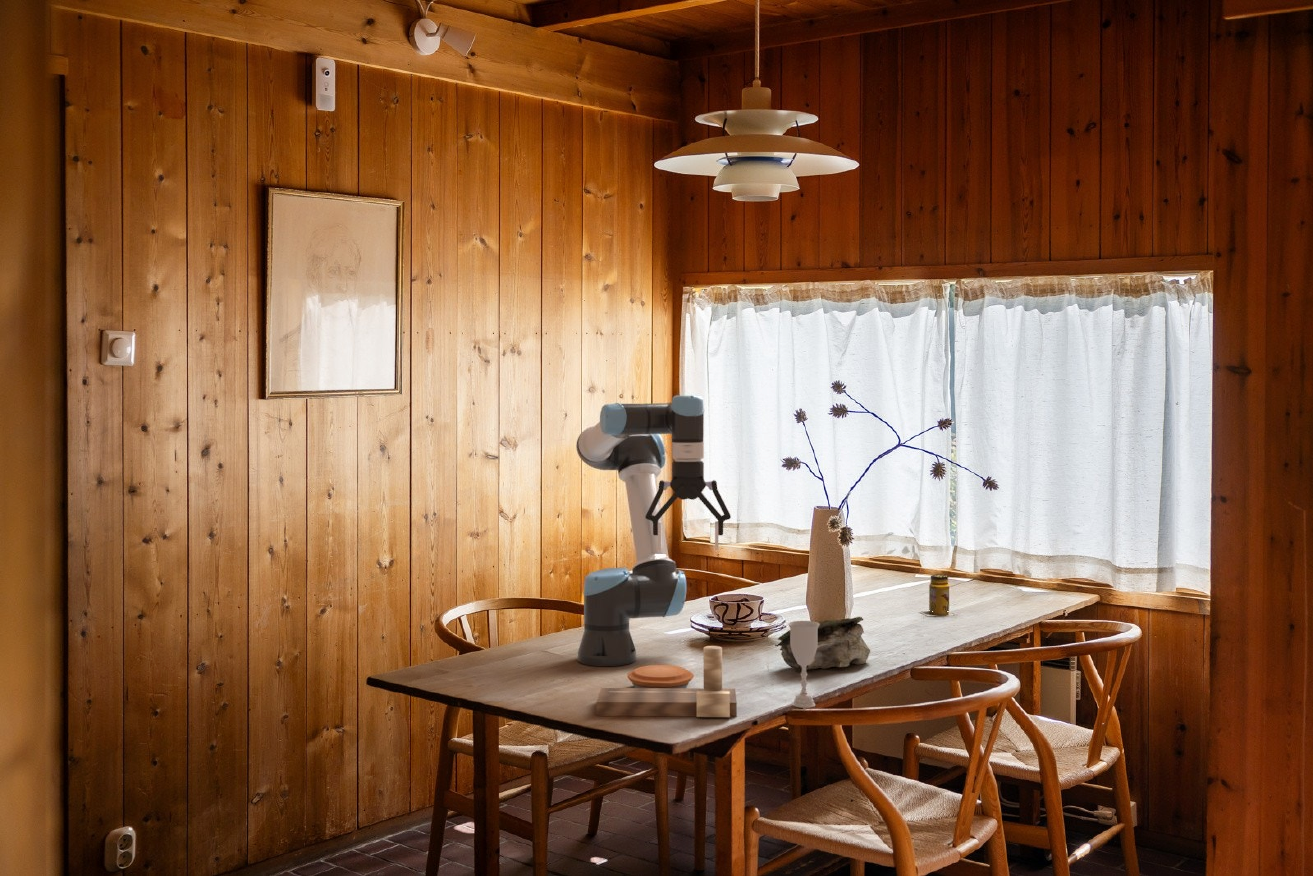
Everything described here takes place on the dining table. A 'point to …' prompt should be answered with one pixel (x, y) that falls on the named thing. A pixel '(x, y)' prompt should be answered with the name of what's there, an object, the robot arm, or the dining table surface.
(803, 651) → the chalice
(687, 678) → the pie
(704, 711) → the wooden handled tool
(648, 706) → the board
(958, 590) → the dining table surface
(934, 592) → the condiment
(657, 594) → the robot arm
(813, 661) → the hollow geode rock
